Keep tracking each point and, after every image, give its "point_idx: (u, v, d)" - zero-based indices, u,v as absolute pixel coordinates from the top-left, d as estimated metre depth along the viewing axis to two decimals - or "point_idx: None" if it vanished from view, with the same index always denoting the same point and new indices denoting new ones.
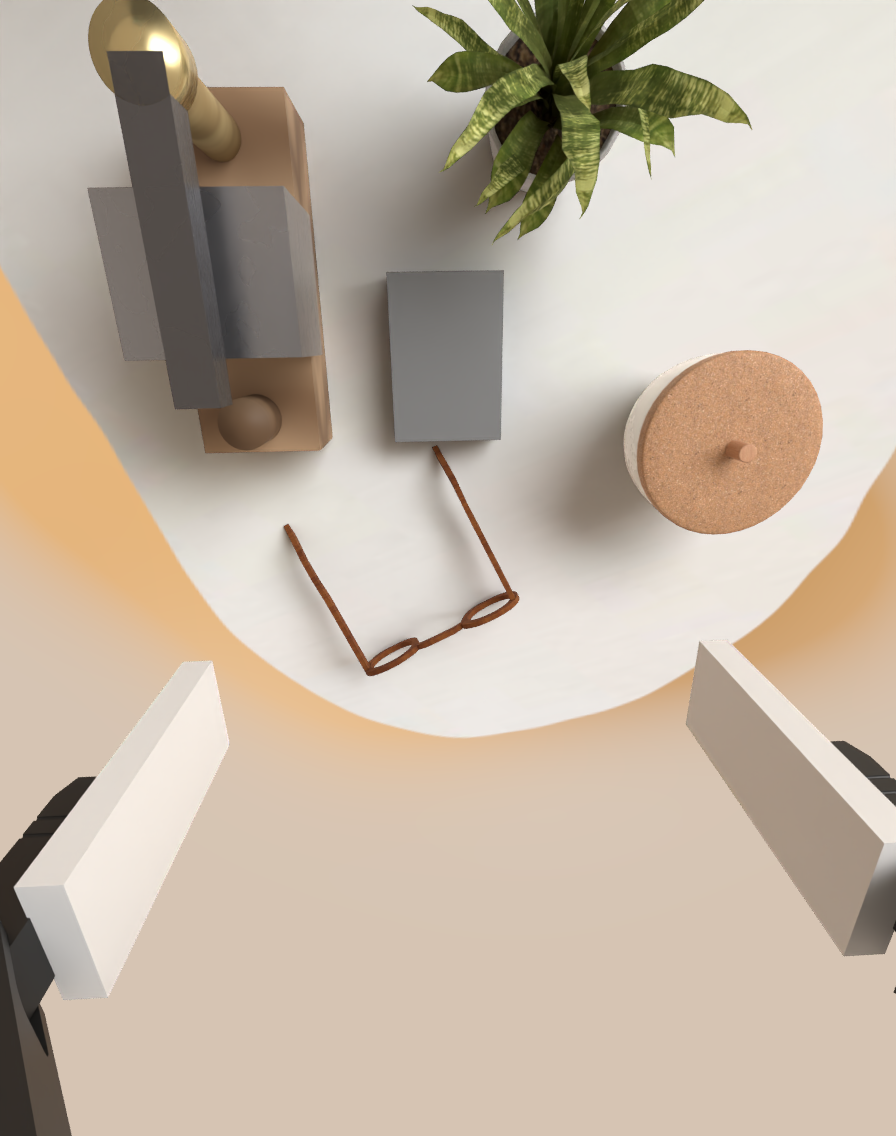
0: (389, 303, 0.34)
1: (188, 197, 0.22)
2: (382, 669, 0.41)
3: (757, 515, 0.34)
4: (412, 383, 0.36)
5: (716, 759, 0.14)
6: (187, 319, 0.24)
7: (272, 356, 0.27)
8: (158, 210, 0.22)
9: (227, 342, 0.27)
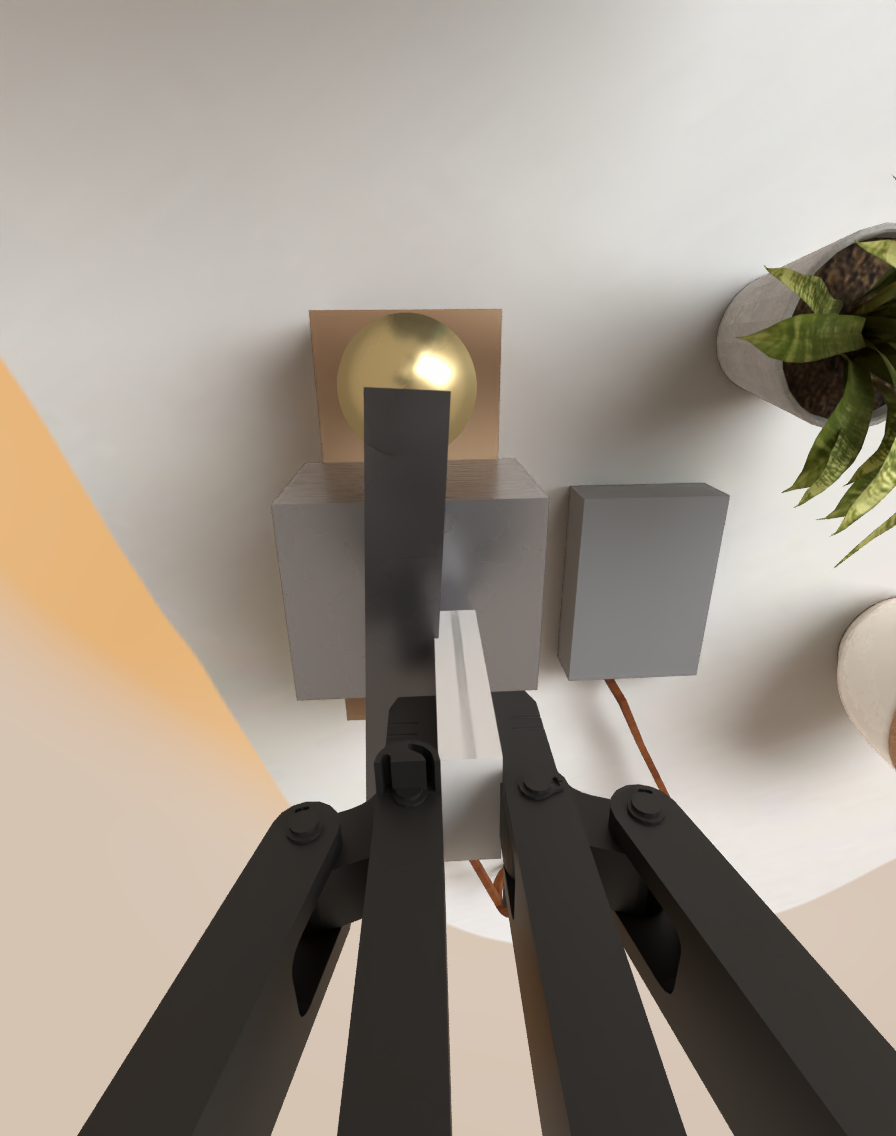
0: (583, 533, 0.27)
1: (441, 568, 0.15)
2: None
3: None
4: (599, 618, 0.29)
5: None
6: None
7: (498, 690, 0.20)
8: (396, 585, 0.15)
9: None
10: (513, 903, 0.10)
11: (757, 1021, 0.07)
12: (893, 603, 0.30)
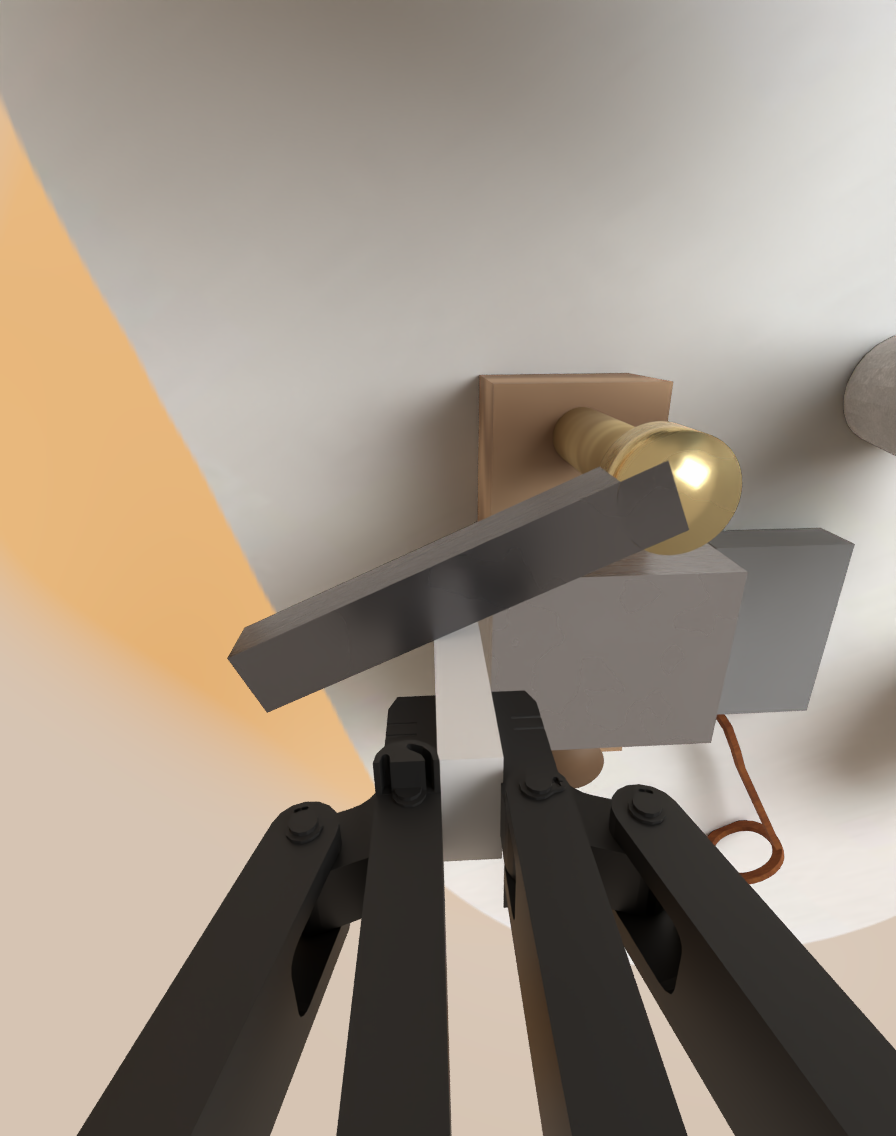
0: None
1: (527, 597, 0.15)
2: None
3: None
4: None
5: None
6: (369, 641, 0.15)
7: (675, 743, 0.21)
8: (496, 569, 0.15)
9: (624, 731, 0.21)
10: (514, 903, 0.10)
11: (758, 1022, 0.07)
12: None
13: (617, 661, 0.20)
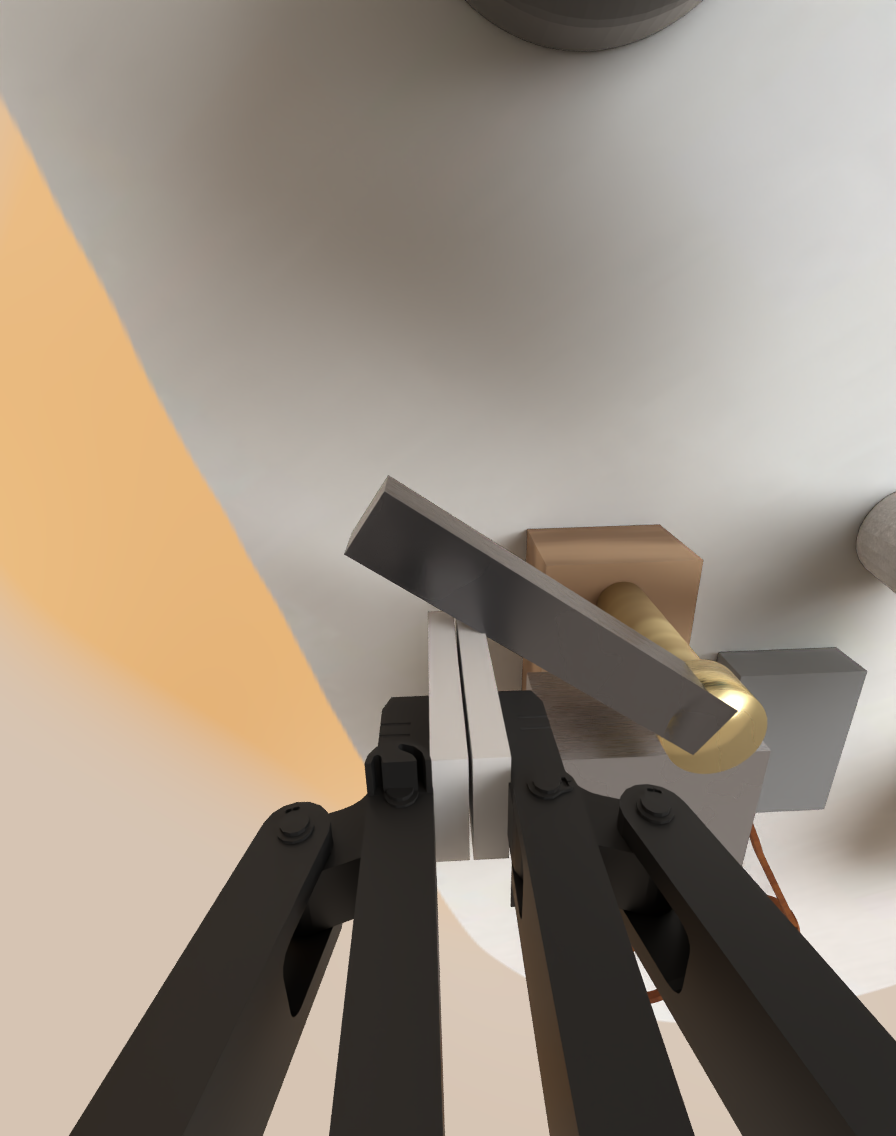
0: None
1: (580, 688, 0.17)
2: (652, 1000, 0.38)
3: None
4: None
5: None
6: (476, 600, 0.15)
7: None
8: (596, 655, 0.16)
9: None
10: (521, 902, 0.10)
11: (766, 1022, 0.07)
12: None
13: None
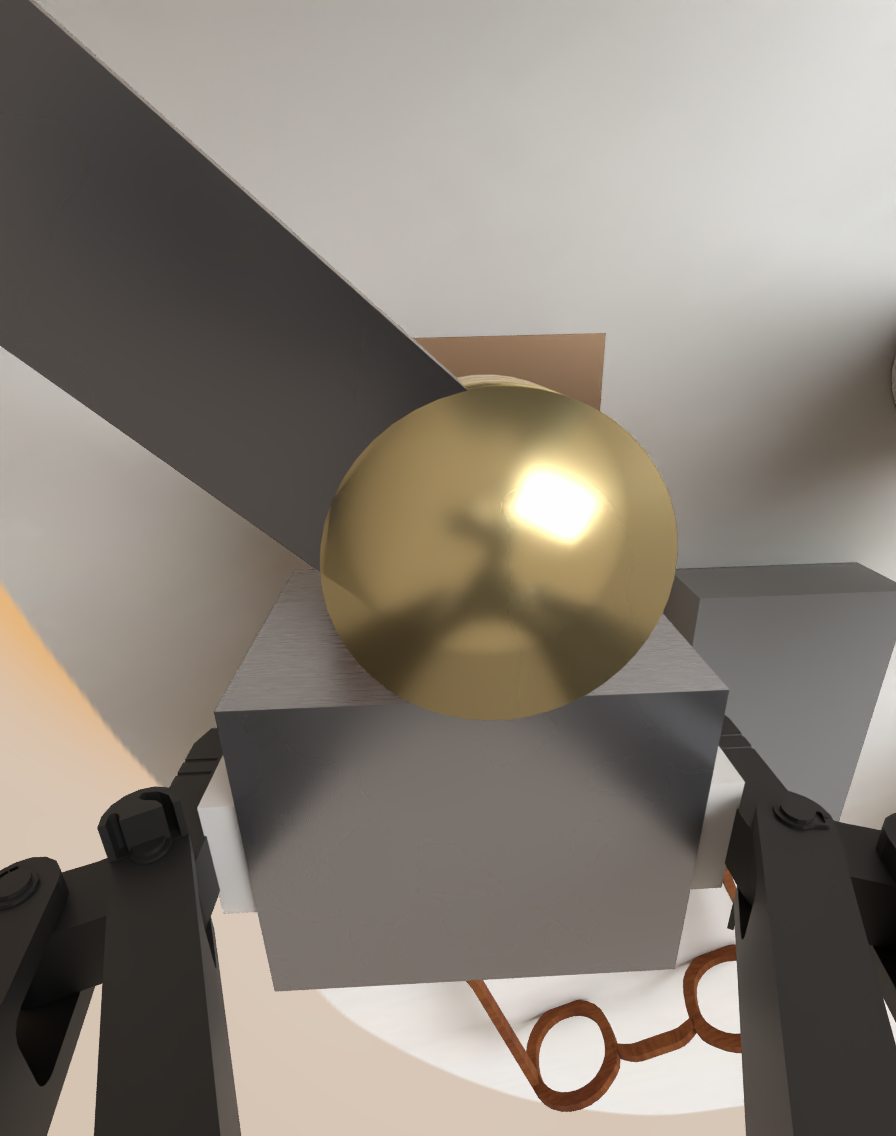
0: (695, 644, 0.19)
1: None
2: (570, 1108, 0.26)
3: None
4: None
5: None
6: None
7: (610, 972, 0.12)
8: None
9: (514, 954, 0.12)
10: (744, 924, 0.10)
11: None
12: None
13: (485, 847, 0.10)
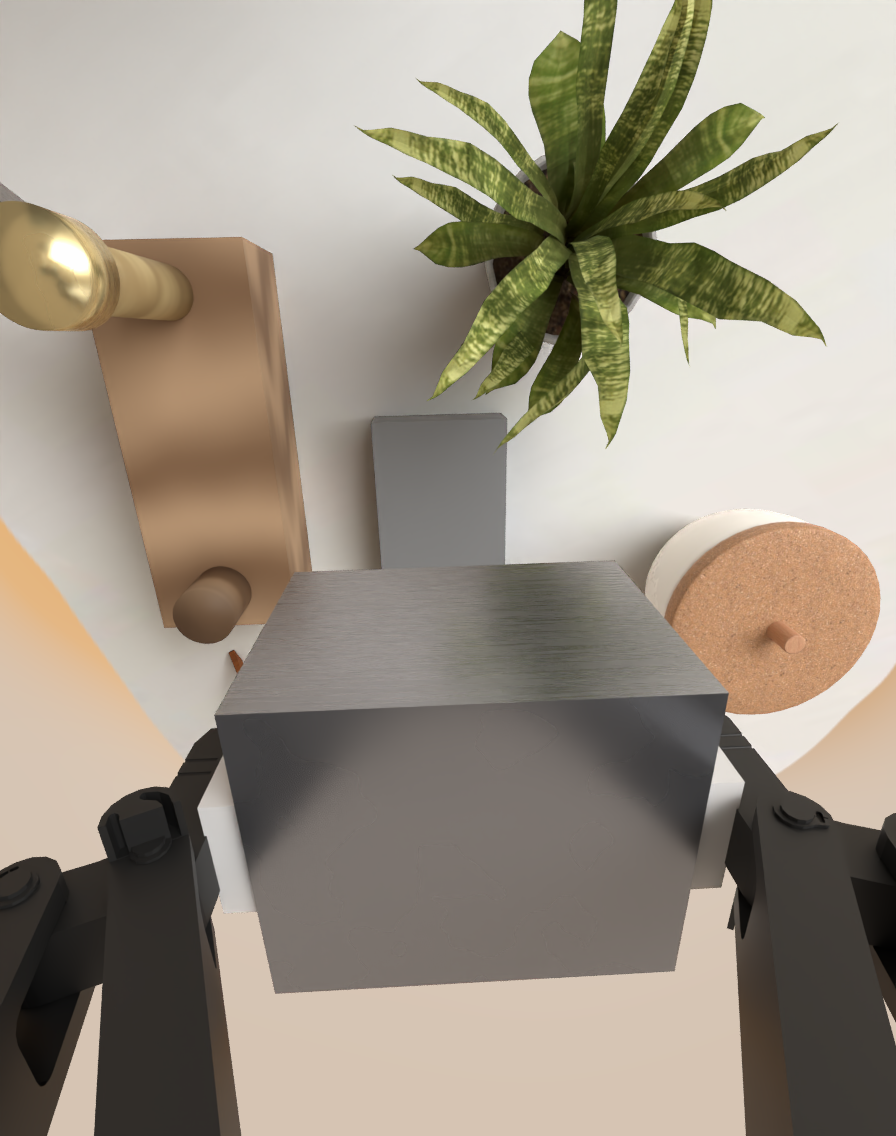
0: (375, 455, 0.29)
1: None
2: None
3: (801, 696, 0.30)
4: (403, 538, 0.31)
5: None
6: None
7: (610, 974, 0.12)
8: None
9: (514, 957, 0.12)
10: (744, 924, 0.10)
11: None
12: None
13: (486, 850, 0.10)
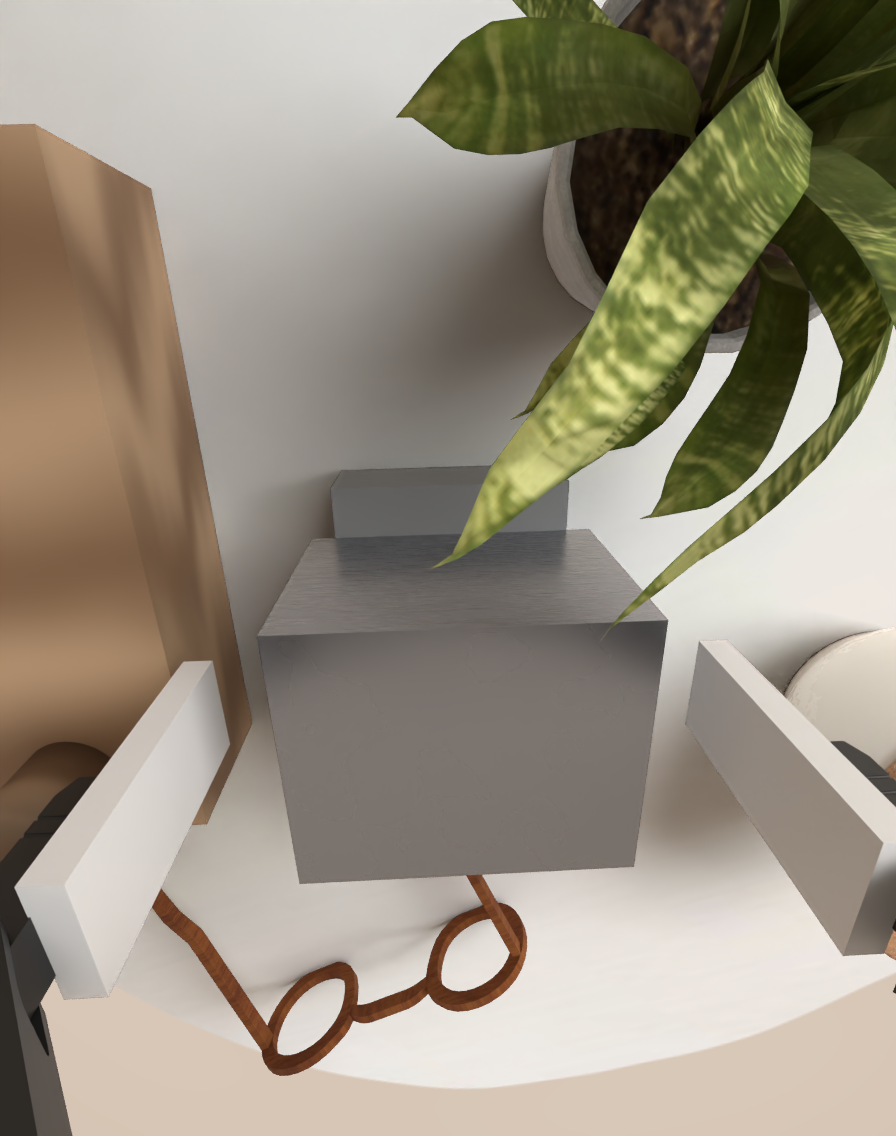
0: None
1: None
2: (287, 1071, 0.24)
3: None
4: None
5: (716, 759, 0.14)
6: None
7: (579, 868, 0.14)
8: None
9: (499, 852, 0.14)
10: None
11: None
12: (852, 646, 0.20)
13: (475, 755, 0.13)
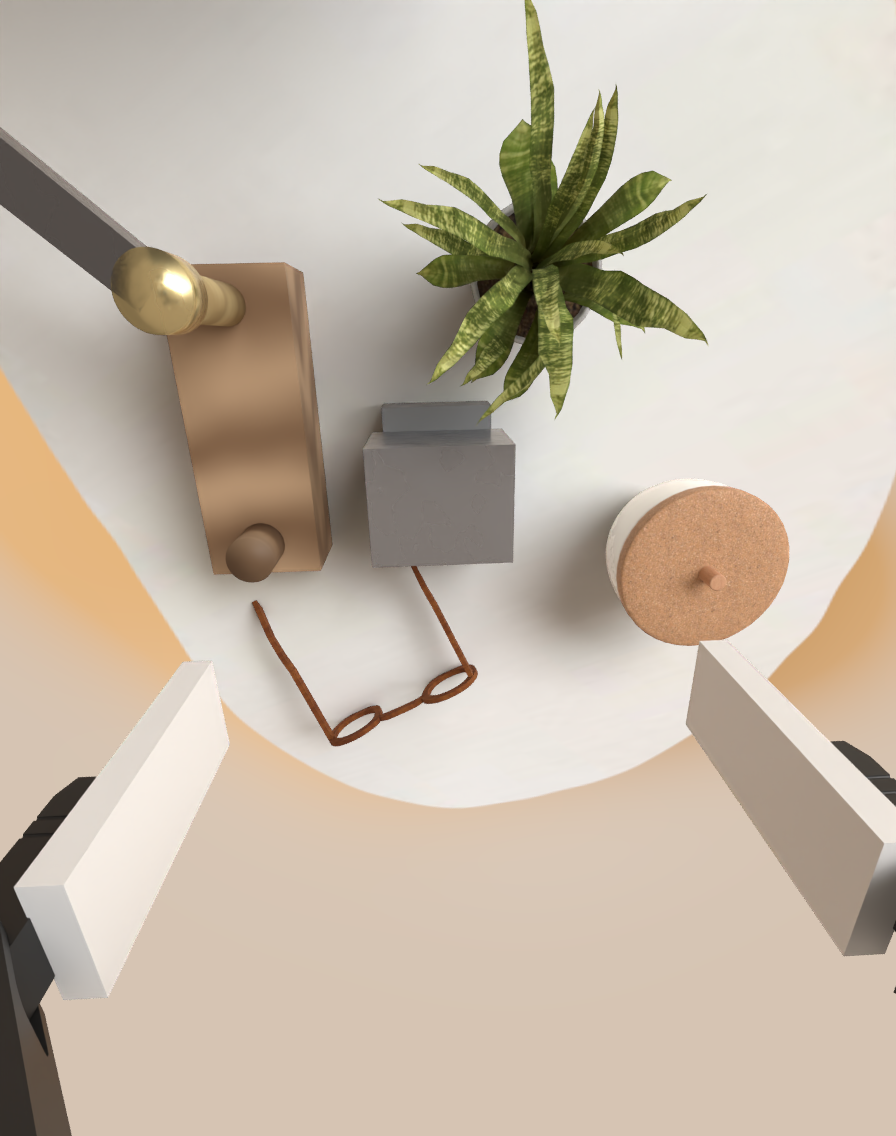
0: None
1: (35, 230, 0.22)
2: (345, 741, 0.43)
3: (730, 629, 0.37)
4: None
5: (716, 759, 0.14)
6: None
7: (489, 562, 0.34)
8: (36, 194, 0.21)
9: (455, 553, 0.33)
10: None
11: None
12: (639, 493, 0.39)
13: (444, 503, 0.32)
